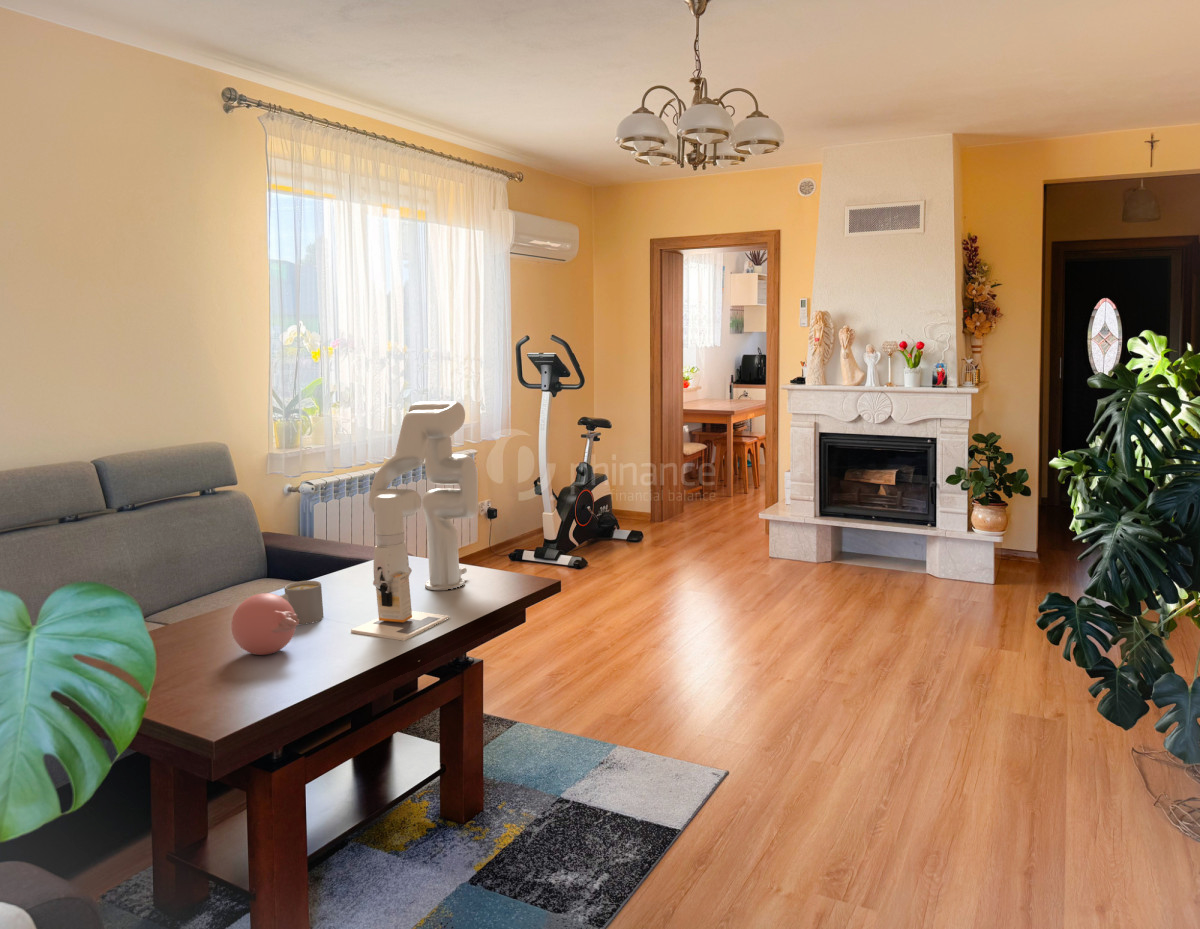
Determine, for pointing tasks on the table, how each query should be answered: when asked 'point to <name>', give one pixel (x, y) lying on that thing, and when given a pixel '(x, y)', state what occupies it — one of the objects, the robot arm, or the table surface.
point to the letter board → (400, 626)
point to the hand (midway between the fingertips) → (394, 602)
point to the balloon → (264, 624)
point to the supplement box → (396, 600)
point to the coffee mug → (305, 600)
